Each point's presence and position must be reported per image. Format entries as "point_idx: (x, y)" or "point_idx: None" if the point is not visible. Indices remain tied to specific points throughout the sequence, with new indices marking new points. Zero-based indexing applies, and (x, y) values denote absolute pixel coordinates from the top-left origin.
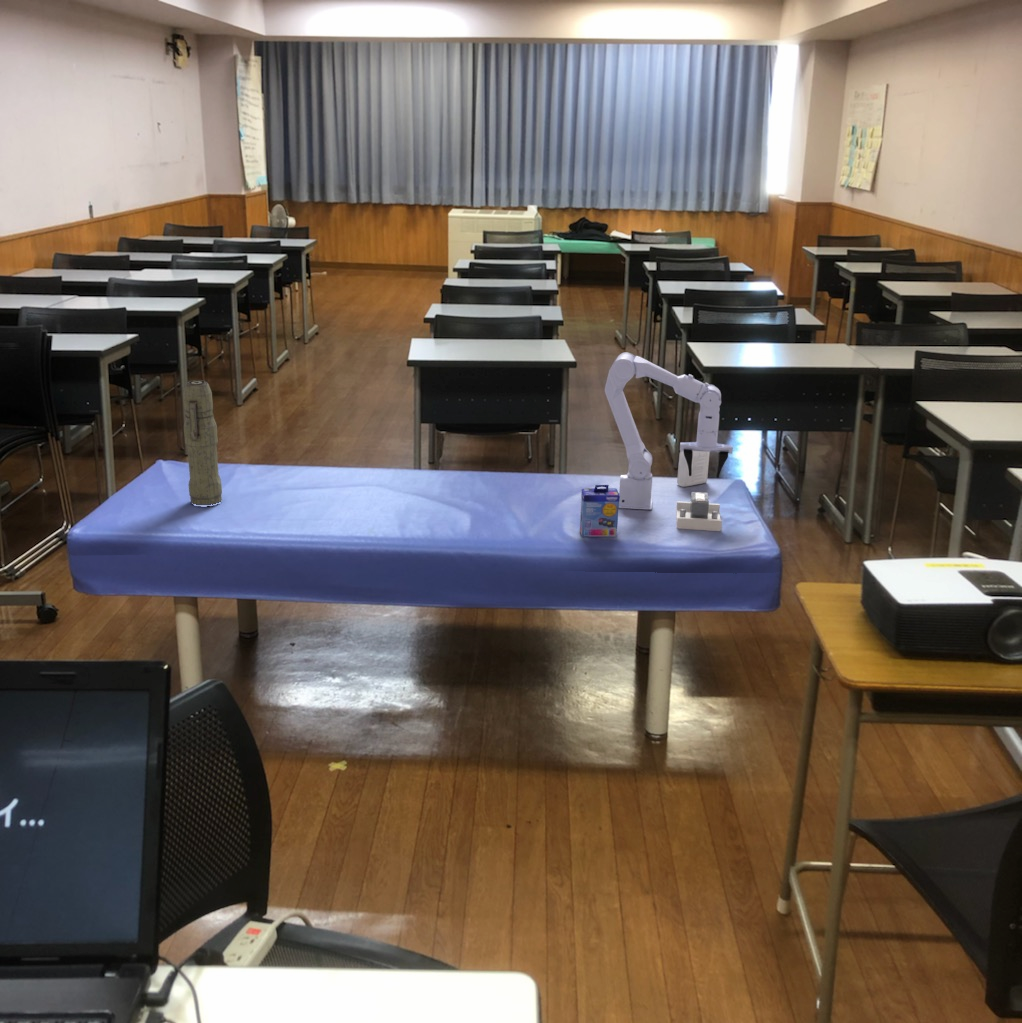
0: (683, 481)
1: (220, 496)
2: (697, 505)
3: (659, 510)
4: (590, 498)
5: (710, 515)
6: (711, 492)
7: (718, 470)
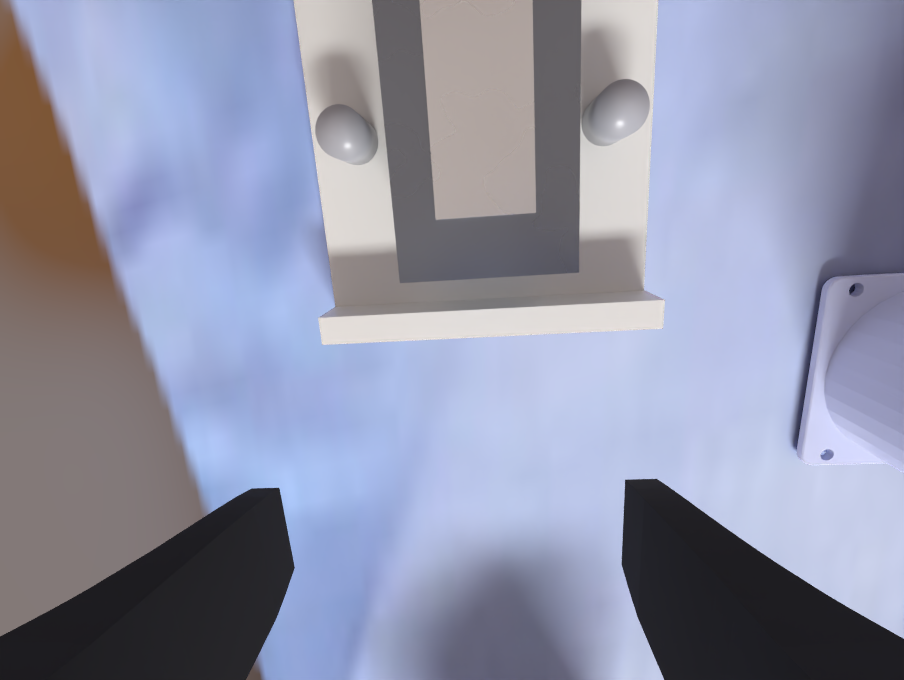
0: None
1: None
2: None
3: (756, 297)
4: None
5: (390, 207)
6: (415, 661)
7: (189, 549)
